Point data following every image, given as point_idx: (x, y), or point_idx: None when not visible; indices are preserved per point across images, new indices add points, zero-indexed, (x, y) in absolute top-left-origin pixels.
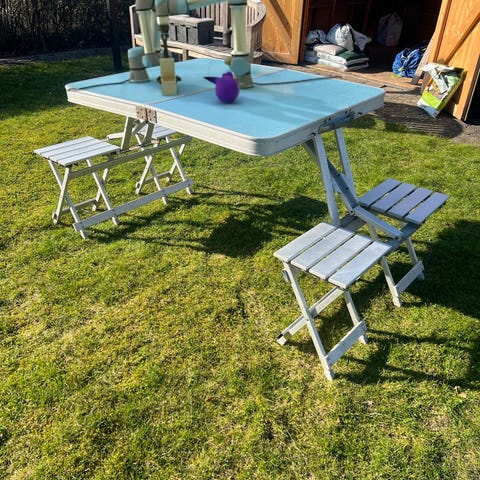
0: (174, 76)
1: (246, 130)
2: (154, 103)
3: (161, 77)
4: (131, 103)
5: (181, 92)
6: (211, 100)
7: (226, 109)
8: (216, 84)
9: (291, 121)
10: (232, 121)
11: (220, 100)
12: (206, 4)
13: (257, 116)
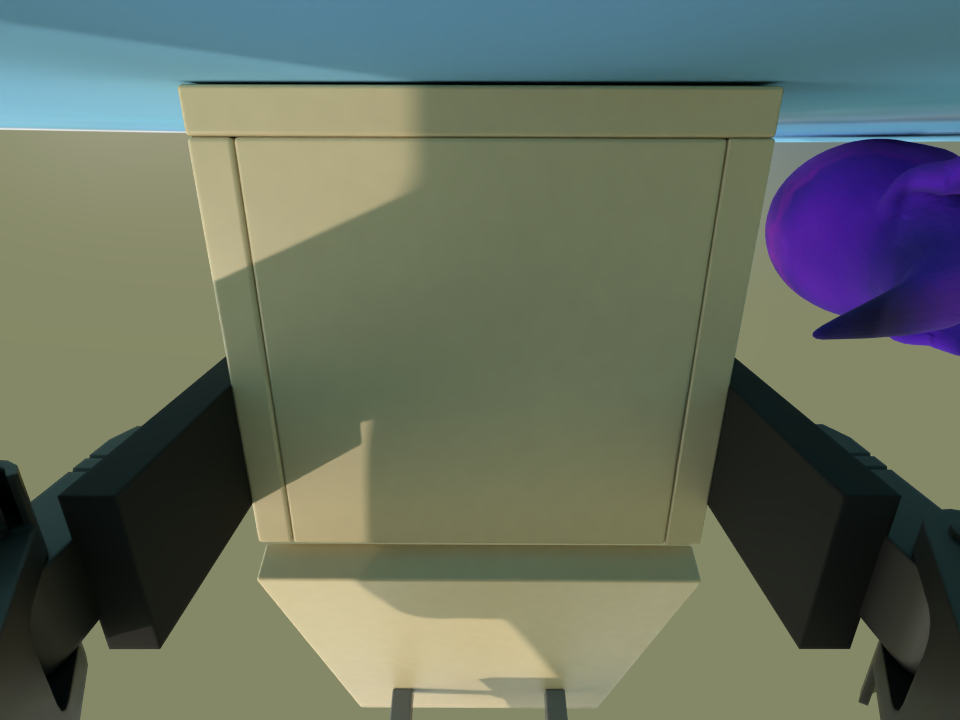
0: (659, 550)
1: None
2: None
3: (273, 544)
4: (119, 131)
5: (780, 107)
6: (828, 133)
7: None
8: (782, 263)
9: (846, 141)
10: None
11: (810, 159)
12: None
13: (797, 140)
